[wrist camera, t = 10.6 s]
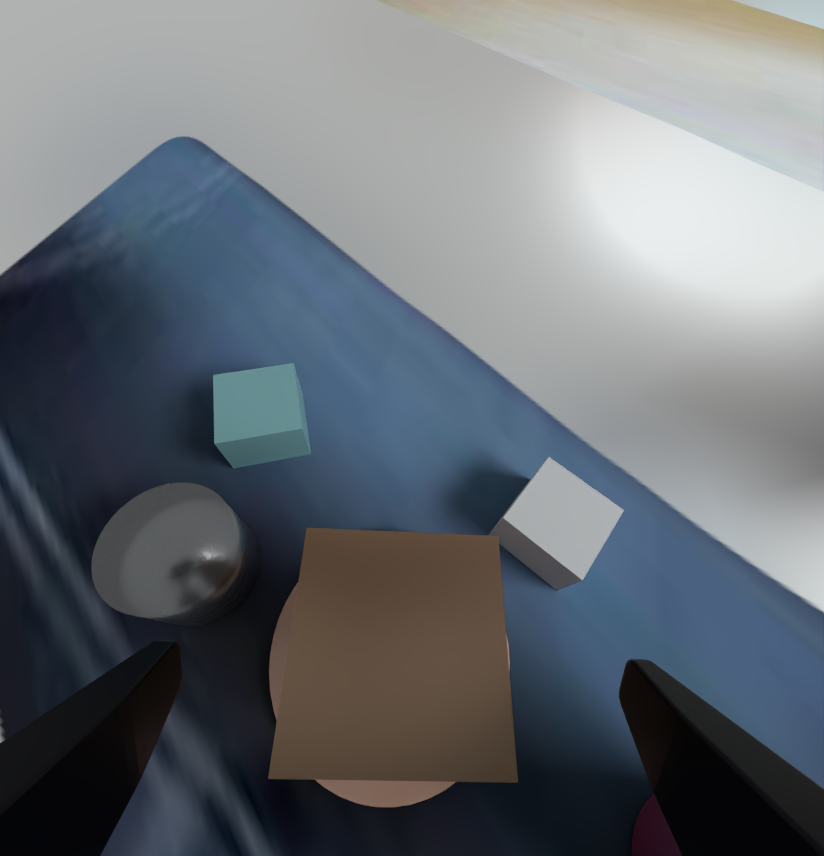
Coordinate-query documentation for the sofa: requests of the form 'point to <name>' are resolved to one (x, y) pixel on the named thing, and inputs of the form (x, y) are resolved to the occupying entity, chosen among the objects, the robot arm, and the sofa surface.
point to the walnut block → (397, 661)
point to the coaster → (347, 789)
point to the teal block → (259, 415)
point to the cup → (653, 832)
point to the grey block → (557, 525)
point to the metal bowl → (176, 556)
